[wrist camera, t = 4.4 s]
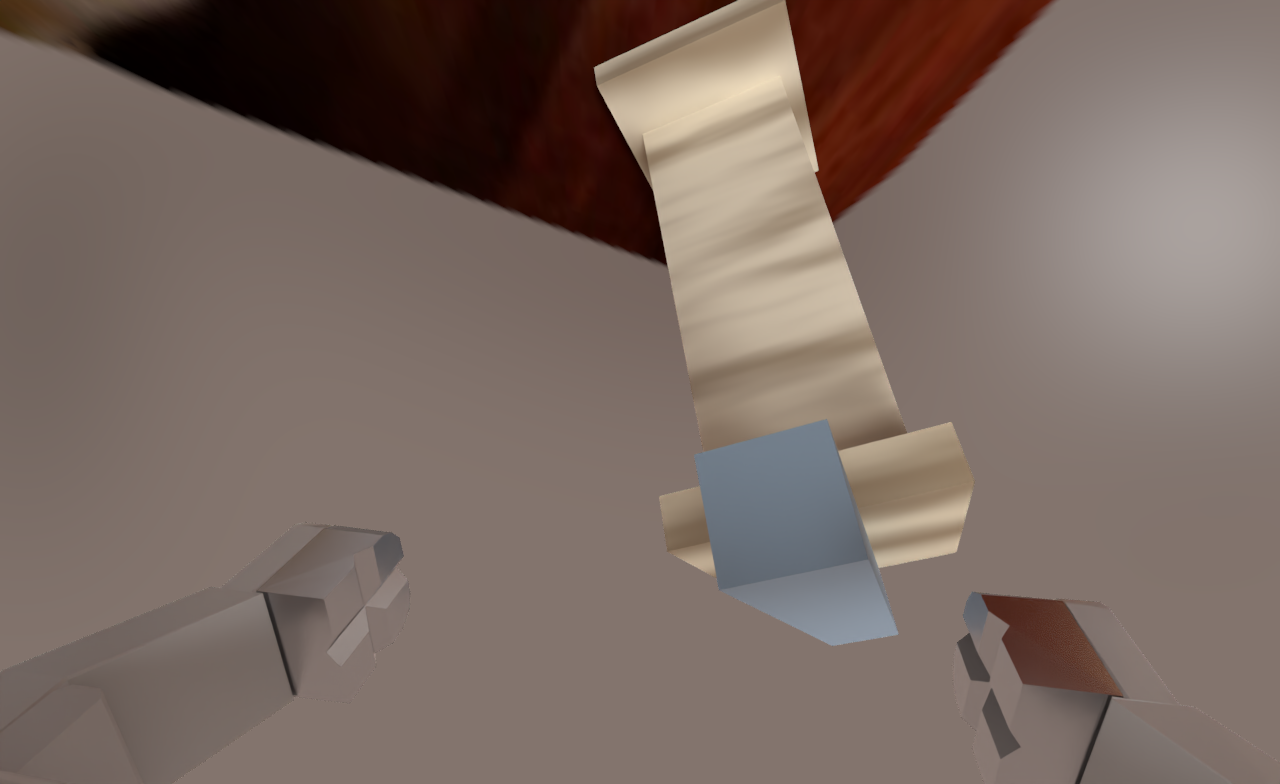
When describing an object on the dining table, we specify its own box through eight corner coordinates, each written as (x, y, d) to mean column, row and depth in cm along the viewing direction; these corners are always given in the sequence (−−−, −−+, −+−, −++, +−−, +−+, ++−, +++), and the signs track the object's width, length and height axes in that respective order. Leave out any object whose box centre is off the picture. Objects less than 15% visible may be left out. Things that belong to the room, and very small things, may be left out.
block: (694, 454, 15) (718, 590, 13) (826, 418, 14) (868, 559, 12) (815, 580, 31) (832, 645, 30) (878, 567, 31) (898, 634, 29)
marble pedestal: (593, 67, 34) (667, 551, 22) (777, -19, 32) (974, 481, 19) (668, 209, 44) (746, 594, 32) (812, 153, 42) (956, 552, 30)
